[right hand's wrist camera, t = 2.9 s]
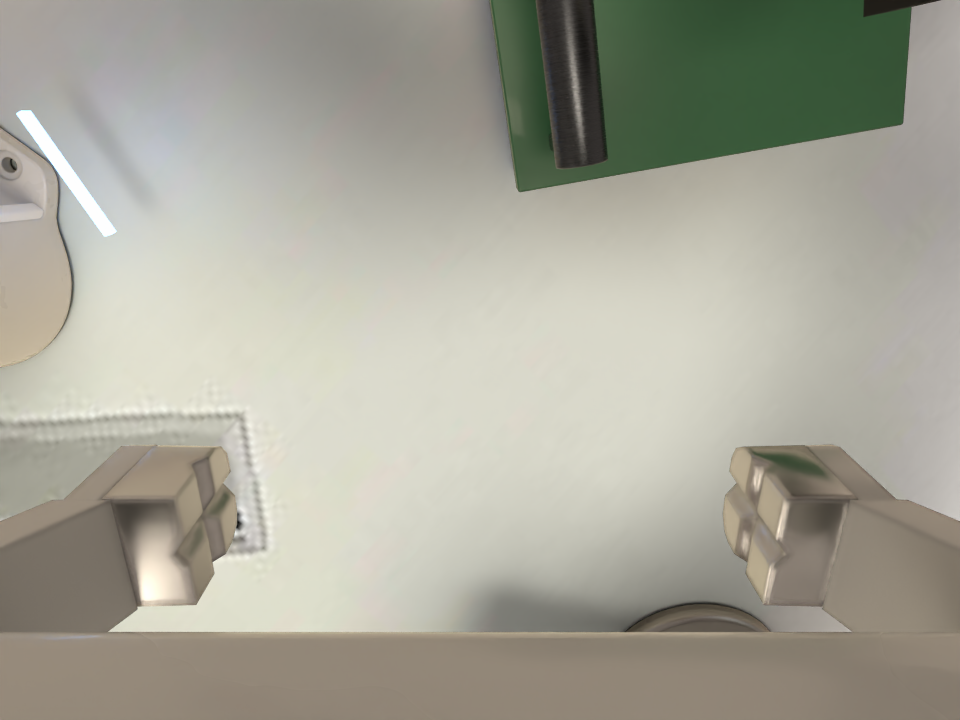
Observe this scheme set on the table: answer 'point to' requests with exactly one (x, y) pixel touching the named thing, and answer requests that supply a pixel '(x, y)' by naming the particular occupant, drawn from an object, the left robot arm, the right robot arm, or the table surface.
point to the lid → (688, 80)
